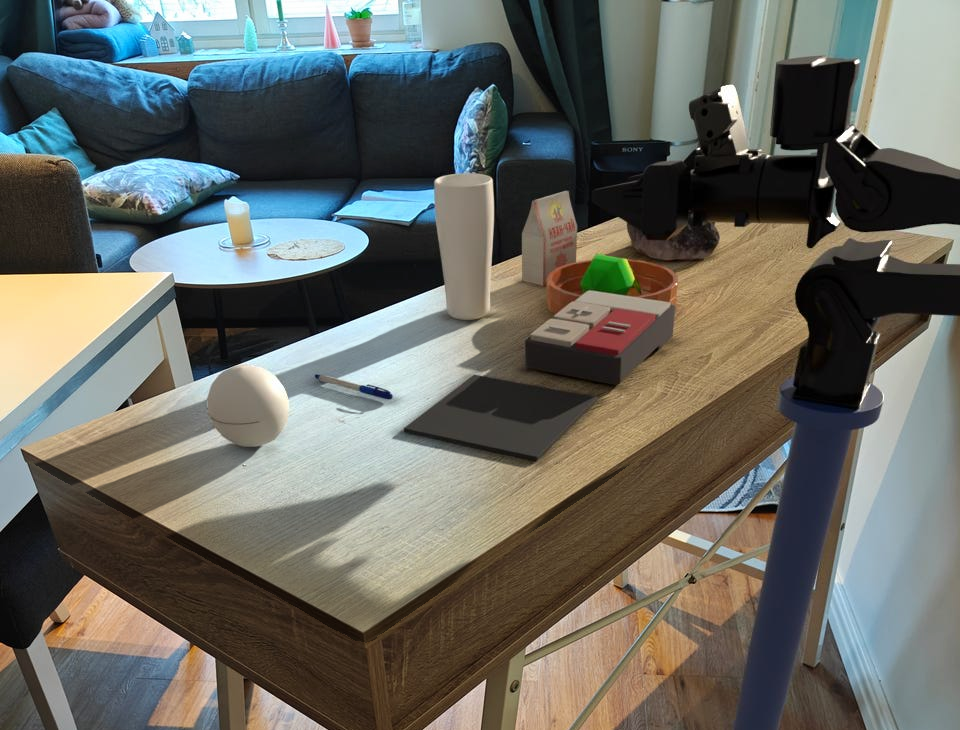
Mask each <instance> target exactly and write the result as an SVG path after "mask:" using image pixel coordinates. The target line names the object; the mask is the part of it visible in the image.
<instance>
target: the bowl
mask: <svg viewBox="0 0 960 730" xmlns="http://www.w3.org/2000/svg"><path fill="white" fill-rule="evenodd" d="M626 259H627V261H628V263H629V266H631V268H632V270H633V276H634V278H635V279H636V280H637V281H638V283H639V287H640V290H641V294H642V296H641V295H640V293H639V292H638V291H637V290H636V288H635V287H634V286H633V284H632V286H631V288H630V290H629V291H628V293H627V295H626V296H630V297H637V298H643V299H650V300H656V301H663V302H669V303H670V304H672V305H674V306H675V307H676V305H677V304H676V303H677V294H678V284H679V275H677V273H675V272H674V271H673V270H672V269H671V268H669V267H665V266H664V265H662V264H657V263H653V262H649V261H645V260H639V259H638V260H637V259H629V258H626ZM592 260H593V259H586V260H581V261H576V262H574V263H570V264H567V265H564V266H561V267H558V268H556V269H555V270H553V271H552V272H551V273H549V275H548V278H547V285H546V292H545V293H546V295H545V297H546V298H545V299H546V300H545V301H546V302H545V303H546V306H547V308H548V310H549V312H551V313H552V314H554V315H555V314H557V313H558V312H559V311H561V310H562V309H563V308H564V307H566V306H567V305H568V304H569V303H571V302H574V301H575V300H576V299H578V298H579V297H580V296H582V295H583V294H584V293H583V290H582V288H581V286H580V283H581V281H582V279H583V277H584V275H585V273H586V271H587V269H588V268H589V266H590V264H591V262H592Z"/></svg>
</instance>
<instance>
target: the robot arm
mask: <svg viewBox="0 0 960 730" xmlns="http://www.w3.org/2000/svg"><path fill="white" fill-rule="evenodd" d="M860 65H861V60H860V59H859V58H841V57H827V55H811V56H800V57H793V58H786V59H781V60H778V61H776V63H775V70H774V71H775V72H774V82H773V95H772V106H771V118H770V130H769V136H770V137H771V138H775V145H779V146H780V147H779V148H780V150H783V151H790V152H791V151H798V152H799V151H813V150H815V151H816V154H768V155H767V154H766V152H762V149H761V148H755V149H754V148H749V146H748V140H747V131H746V126H745V123H744V118H743V113H742V109H741V105H740V100H739V97H738V96H739V95H738V92H737V90H736V87H735V86H734V84H727V85H723V86H720V87H717V88H716V89H714V90H712V91H710V92H707V93H705V94H703V95H701V96H699V97H696V98H694V99H692V100H690V101H689V103H688V112H689V117H690V119H691V120H693V123H694V127H695V131H696V136H697V139H698V144H699V147H698V148H695V149H693V150H692V151H691V152H690V153H689V154H688V155H687V157H685V159H684V160H665V161H656V162H654V163H651V164H649V165H647V167H645V169H643V173H641V174H637V175H633V176H629V177H628V178H627V182H623V183H619V184H614V185H609V186H605V187H600V188H596V189H592V191H591V203H593V204H595V205H596V206H597V207H599V208H601V209H603V210H605V211H606V212H608V213H610V214H612V215H614V216H615V217H617V218H619V219H621V220H622V221H624V222H625V223H626V224H627V223H629V224H630V225H632V226H633V227H635V228H636V229H638V230H640V231H641V232H642V235H644V236H646V239H647V240H665V241H666V240H668V239H670V238H671V237H673V236H675V235H677V234H679V232H680V231H681V230H682V229H683V228H684V227H685V226H686V225H687V224H688V214H693V219H692V226H703V225H705V224H707V223H709V222H715V223H722V224H723V223H727V224H731V223H732V224H733V225H734V226H733V227H734V228H745V227H747V226H749V225H750V224H777V225H778V224H780V225H781V224H783V225H784V224H785V225H787V224H788V225H808V227H807V236H806V243H805V244H806V245H805V246H806V247H807V249H814V247H816V245H818V243H819V242H820V241H821V240H822V239H824V238H825V237H826V236H828V235H829V234H832V233H834V232H836V230H837V229H838V228H839V227H840V225H841V222H842V223H843V225H844V226H845V227H846V228H847V229H849V230H851V231H855V232H859V233H878V232H893V231H902V230H903V231H904V230H908V229H914V228H919V227H924V226H932V225H933V226H935V225H954V226H960V168H955V167H953V166H949V165H946V164H943V163H942V162H939V161H937V160H934V159H932V158H930V157H926V156H923V155H920V154H915V153H911V152H908V151H904V150H901V149H897V148H892V147H885V148H881V147H880V146H879V145H877V144H876V143H875V142H874V141H873V140H872V139H871V138H870V137H869V136H867V135H866V134H865V133H864V132H863V131H862V130H861V129H859V128H858V127H857V126H856V125H855V124H851V123H850V122H851V115H852V109H853V100H854V93H855V86H856V85H857V80H858V78H859V72H860ZM834 205H835V209H836V213H837V216H838V217H839V219H840V220H841V221H840V220H839V219H838V218H836V216H835V214H834V212H833V210H834V209H833V208H834ZM892 245H893V240H892V239H882V240H876V241H866V242H865V241H859V240H856V239H854V238H852V237H849V238H847V239H846V241H845V242H844V243H843V244H842V245H837V246H833V247H831V248H828V249H827V250H825V251H824V252H822V254H821V255H820V256H819V257H817V258H816V259H815V261H814V262H812V264H811V265H810V267H808V269H807V270H806V271H805V272H804V274H802V276H801V277H800V279H799V281H798V283H797V284H796V287H795V292H794V300H795V301H794V302H795V306H796V309H797V311H798V313H799V315H801V316H802V317H803V318H804V319H805V322H806V325H807V331H808V335H807V339H805V340H804V341H803V343H802V345H801V346H800V348H799V350H798V356H797V361H796V367H795V371H794V376H793V377H794V381H793V386H794V387H797V388H796V390H795V392H794V393H793V399H796V400H801V401H807V402H813V403H819V404H825V405H831V406H837V407H843V408H849V409H859V408H860V406H861V404H862V402H863V400H864V398H865V396H866V394H867V391H868V389H869V387H870V383H871V382H870V381H869V380H870V377H871V373H872V369H873V366H874V361H875V357H876V352H877V349H878V346H879V341H880V337H881V332H879V331H875V329H876V328H877V326H878V324H879V323H880V321H881V319H882V318H884V317H887V316H892V315H897V314H907V315H910V314H911V315H927V316H929V315H930V316H948V317H949V316H950V317H960V263H923V262H922V263H920V262H919V263H917V262H909V261H905V260H902V259H901V258H900V259H899V258H897V257H895V256H892V255H890V251H891V248H892Z"/></svg>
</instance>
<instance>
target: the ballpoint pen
mask: <svg viewBox="0 0 960 730" xmlns="http://www.w3.org/2000/svg"><path fill="white" fill-rule="evenodd" d="M313 378H314V379H317V380H318V381H319V382H320V381H321V382H324V383H327V384H331V385H335V386H339V387H342V388H346V389H350V390H352V391H353V390H354V391H356V392H359V393H362V394H366V395H369V396H373V397H376V398H380V399H383V400H392V399H393V397H394V394H392V393H391V391H389V390H388V389H385V388H381V387H379V386H376V385H372V384H366V385H364V384H358V383H356V382H350V381H347V380H343V379H340V378H337V377H332V376H329V375H325V374H320V373H319V374H317V373H316V374H314V375H313Z"/></svg>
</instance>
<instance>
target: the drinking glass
mask: <svg viewBox="0 0 960 730" xmlns="http://www.w3.org/2000/svg"><path fill="white" fill-rule="evenodd" d="M433 187H434V188H433V193H434V215H435V225H436V233H437V234H436V235H437V240H438V247H439V255H440V262H441V270H442V276H443V282H444V283H443V284H444V293H445V303H446V304H445V305H446V312H447V314H448V315H449V316H450V317H451V318H453V319H455V320H460V321H471V320H479V319H482V318H484V317H486V316H487V315H489V313H490V311H491V281H492V263H493V259H492V258H493V248H494V247H493V245H494V227H495V196H494V195H495V194H494V179H493V177H492V176H490V175H487V174H482V173H472V172H471V173H468V172H466V173H465V172H462V173H452V174H446V175H441V176H439V177H437V178H435V180H434V181H433Z"/></svg>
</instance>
